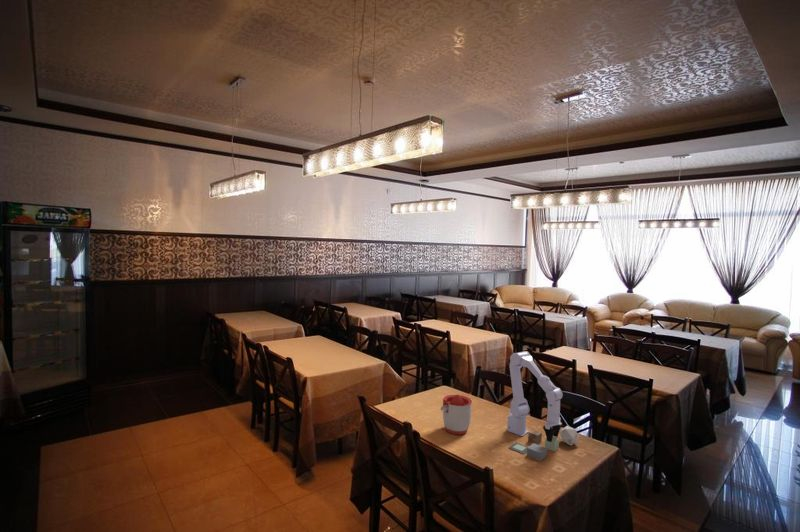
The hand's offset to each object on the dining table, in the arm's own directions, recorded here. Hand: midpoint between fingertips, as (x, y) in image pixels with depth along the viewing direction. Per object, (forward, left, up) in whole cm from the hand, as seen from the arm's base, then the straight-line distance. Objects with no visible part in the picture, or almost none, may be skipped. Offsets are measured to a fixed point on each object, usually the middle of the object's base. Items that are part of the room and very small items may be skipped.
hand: (552, 438), depth 199 cm
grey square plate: (-11, -13, -5) cm, 18 cm away
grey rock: (+4, +12, -5) cm, 14 cm away
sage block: (0, 0, -5) cm, 5 cm away
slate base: (-2, -13, -5) cm, 14 cm away
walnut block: (-9, 0, -5) cm, 10 cm away
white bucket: (-45, -21, -5) cm, 50 cm away
